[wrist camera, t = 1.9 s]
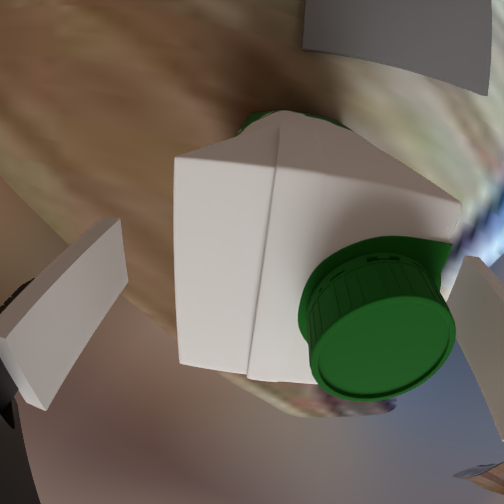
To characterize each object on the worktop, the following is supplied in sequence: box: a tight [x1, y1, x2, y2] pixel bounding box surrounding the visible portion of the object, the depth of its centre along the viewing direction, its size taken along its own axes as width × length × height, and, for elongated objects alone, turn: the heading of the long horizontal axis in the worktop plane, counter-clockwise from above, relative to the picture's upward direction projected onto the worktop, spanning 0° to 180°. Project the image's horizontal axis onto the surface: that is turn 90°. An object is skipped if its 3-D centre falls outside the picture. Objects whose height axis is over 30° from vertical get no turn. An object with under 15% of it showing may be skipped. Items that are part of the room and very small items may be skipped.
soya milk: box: [173, 110, 462, 402], centre depth 16 cm, size 9×9×20 cm
